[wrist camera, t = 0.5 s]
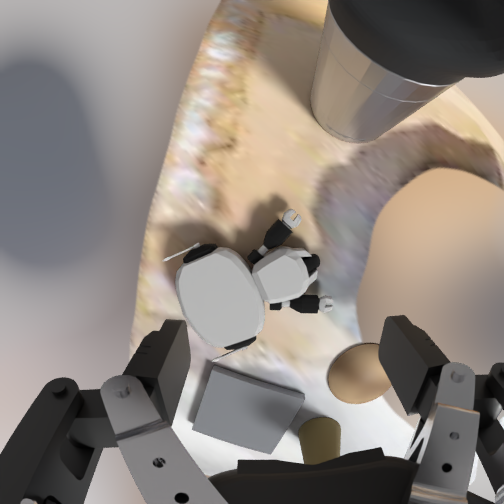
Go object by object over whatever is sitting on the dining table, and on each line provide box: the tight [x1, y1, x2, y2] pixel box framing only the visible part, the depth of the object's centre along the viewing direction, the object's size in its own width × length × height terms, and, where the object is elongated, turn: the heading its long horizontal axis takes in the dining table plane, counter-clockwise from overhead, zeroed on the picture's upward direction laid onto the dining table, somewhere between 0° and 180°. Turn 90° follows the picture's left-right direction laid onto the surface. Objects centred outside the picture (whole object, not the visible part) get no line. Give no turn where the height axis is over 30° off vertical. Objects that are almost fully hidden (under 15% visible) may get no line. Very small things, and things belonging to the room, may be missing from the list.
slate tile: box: [192, 365, 305, 454], centre depth 34 cm, size 12×12×1 cm
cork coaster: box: [329, 342, 392, 404], centre depth 32 cm, size 9×9×1 cm
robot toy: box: [163, 209, 333, 362], centre depth 30 cm, size 12×4×15 cm
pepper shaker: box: [298, 417, 341, 465], centre depth 29 cm, size 6×6×11 cm
